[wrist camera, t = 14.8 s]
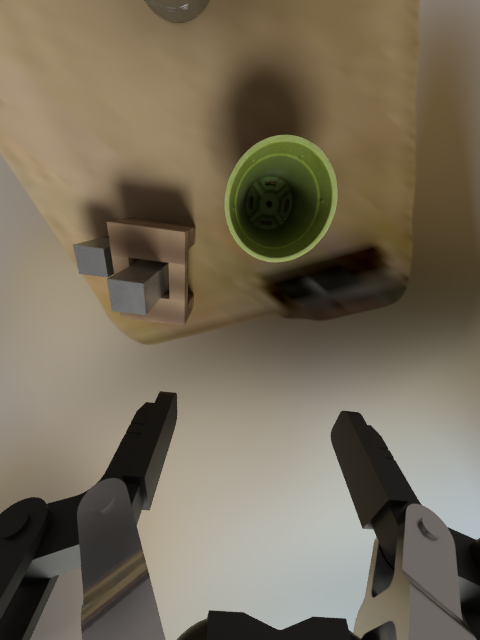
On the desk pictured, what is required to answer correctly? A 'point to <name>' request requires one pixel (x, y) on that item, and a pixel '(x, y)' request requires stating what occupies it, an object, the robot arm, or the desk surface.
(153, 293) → the tall pin
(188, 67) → the desk surface
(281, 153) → the plant pot
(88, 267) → the grey rectangular block
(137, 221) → the block with rectangular hole
